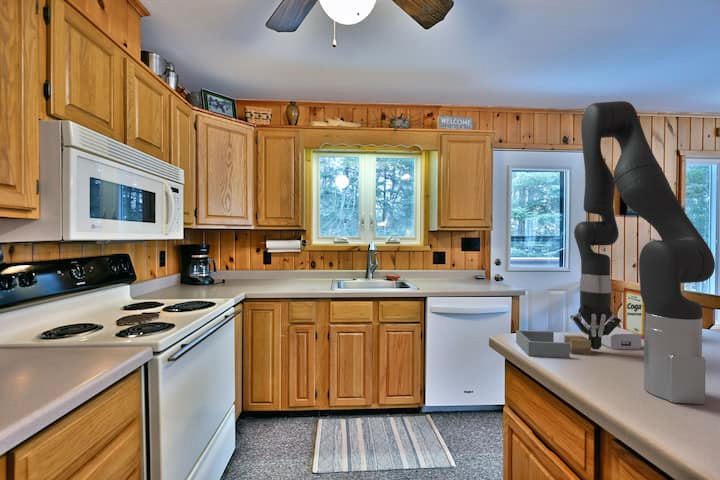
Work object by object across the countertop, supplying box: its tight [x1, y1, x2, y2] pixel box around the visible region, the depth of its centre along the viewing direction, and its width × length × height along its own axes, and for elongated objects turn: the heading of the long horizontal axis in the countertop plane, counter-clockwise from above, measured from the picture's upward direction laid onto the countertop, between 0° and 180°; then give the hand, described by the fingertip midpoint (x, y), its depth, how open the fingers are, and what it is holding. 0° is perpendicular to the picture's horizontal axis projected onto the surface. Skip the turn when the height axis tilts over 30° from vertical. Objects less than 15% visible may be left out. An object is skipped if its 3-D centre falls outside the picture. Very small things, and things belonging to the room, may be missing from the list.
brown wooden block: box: [563, 334, 592, 356], centre depth 101 cm, size 5×5×4 cm
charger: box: [601, 326, 642, 350], centre depth 110 cm, size 5×9×15 cm
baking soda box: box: [622, 287, 645, 340], centre depth 116 cm, size 10×6×16 cm
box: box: [515, 329, 571, 359], centre depth 102 cm, size 12×11×4 cm
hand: (595, 348), depth 100 cm, fingers closed
